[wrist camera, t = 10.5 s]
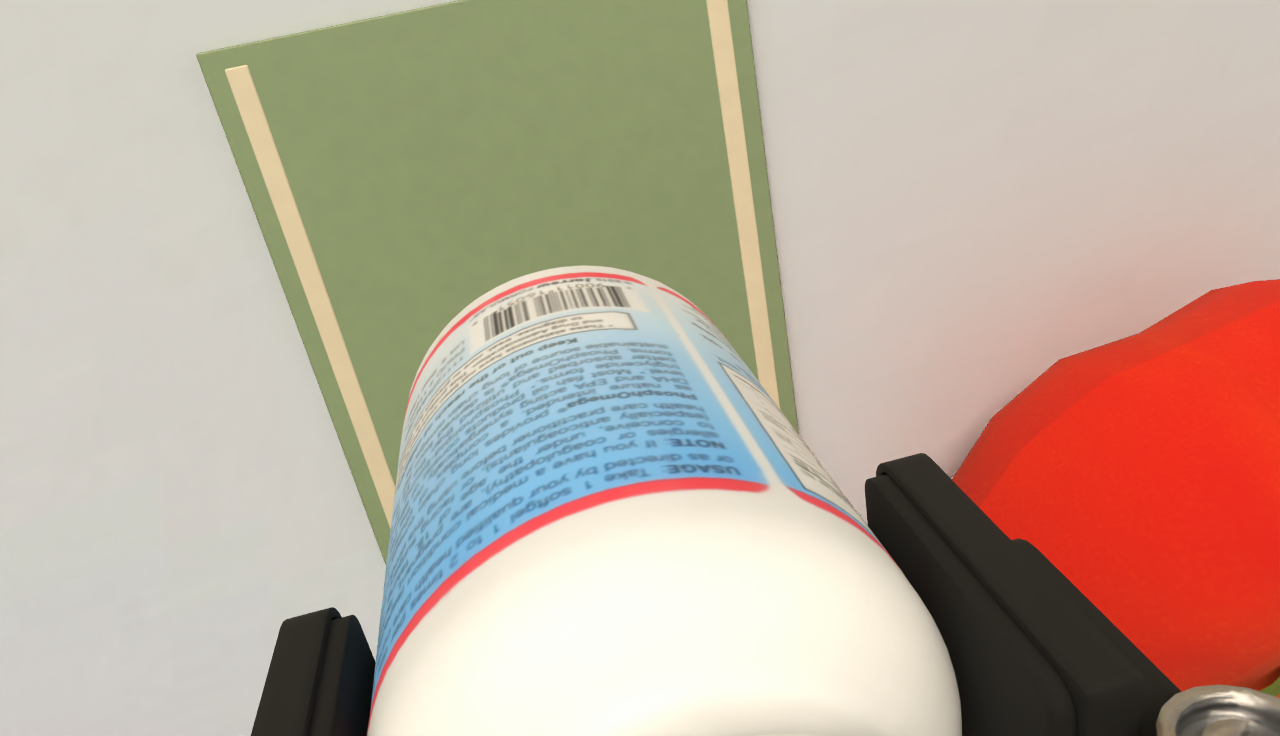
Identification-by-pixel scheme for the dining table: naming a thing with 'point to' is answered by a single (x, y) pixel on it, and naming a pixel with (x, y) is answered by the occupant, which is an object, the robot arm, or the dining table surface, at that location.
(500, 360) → the pill bottle
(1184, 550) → the tomato
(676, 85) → the napkin
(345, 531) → the dining table surface
